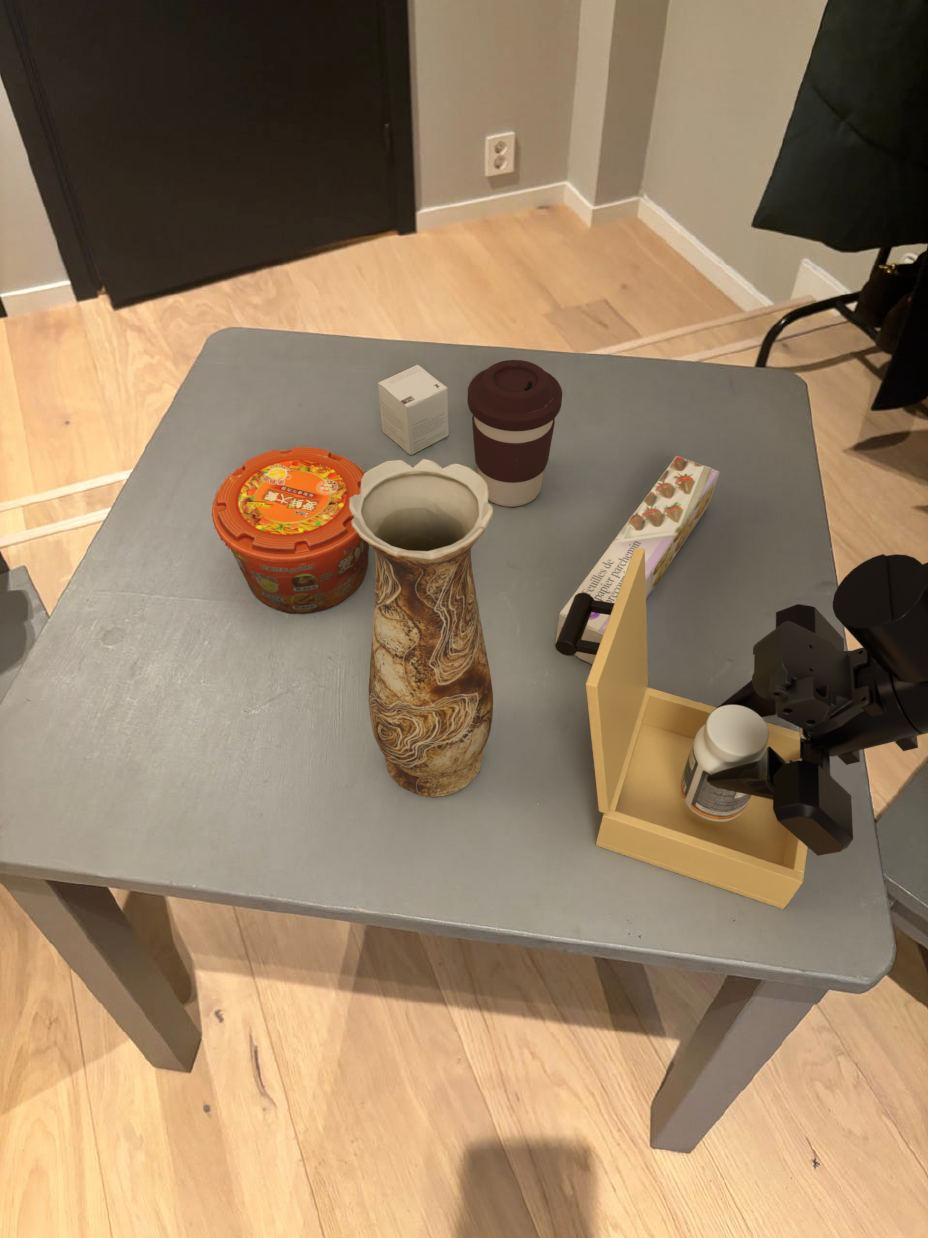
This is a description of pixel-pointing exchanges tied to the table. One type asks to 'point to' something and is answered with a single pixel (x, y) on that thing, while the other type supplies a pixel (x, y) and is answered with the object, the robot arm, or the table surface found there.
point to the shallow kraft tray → (680, 839)
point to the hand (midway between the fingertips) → (711, 748)
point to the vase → (426, 622)
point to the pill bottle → (722, 760)
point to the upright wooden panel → (612, 671)
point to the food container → (294, 528)
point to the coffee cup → (513, 428)
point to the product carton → (414, 409)
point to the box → (648, 539)
